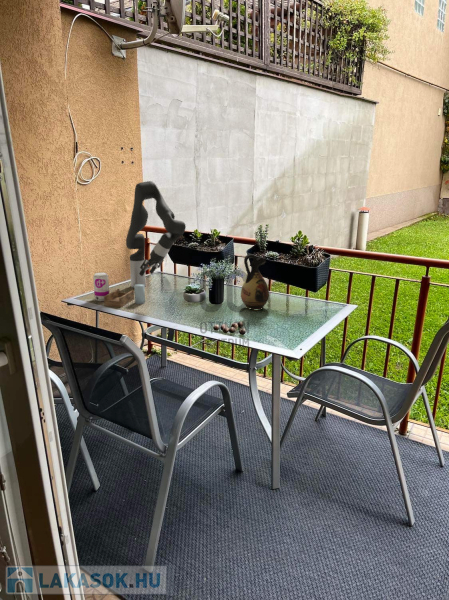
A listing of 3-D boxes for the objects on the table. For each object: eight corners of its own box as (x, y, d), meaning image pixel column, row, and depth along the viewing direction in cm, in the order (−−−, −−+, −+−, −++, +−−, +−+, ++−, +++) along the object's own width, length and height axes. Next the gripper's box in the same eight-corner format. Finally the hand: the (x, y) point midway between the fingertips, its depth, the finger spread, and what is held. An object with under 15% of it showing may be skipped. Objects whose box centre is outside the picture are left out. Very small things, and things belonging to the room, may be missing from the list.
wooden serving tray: (118, 297, 258) (117, 288, 257) (134, 298, 256) (133, 290, 254) (104, 305, 244) (104, 296, 242) (121, 307, 241) (120, 298, 240)
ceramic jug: (261, 302, 253) (264, 250, 244) (272, 311, 239) (275, 256, 230) (233, 305, 248) (234, 252, 239) (243, 313, 234) (244, 258, 225)
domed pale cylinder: (137, 300, 253) (136, 283, 250) (146, 301, 252) (146, 284, 249) (133, 303, 248) (132, 286, 245) (142, 304, 247) (141, 287, 244)
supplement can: (107, 301, 251) (105, 275, 246) (93, 301, 251) (91, 275, 246) (111, 297, 258) (109, 272, 254) (97, 297, 258) (95, 272, 254)
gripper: (163, 245, 240) (149, 267, 247) (146, 247, 228) (132, 270, 235) (172, 254, 238) (158, 276, 245) (156, 257, 226) (141, 280, 233)
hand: (145, 274), depth 240 cm, fingers open, 8 cm apart
